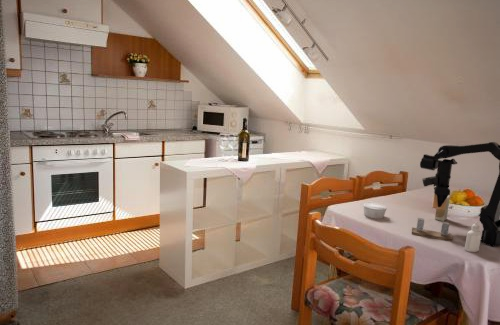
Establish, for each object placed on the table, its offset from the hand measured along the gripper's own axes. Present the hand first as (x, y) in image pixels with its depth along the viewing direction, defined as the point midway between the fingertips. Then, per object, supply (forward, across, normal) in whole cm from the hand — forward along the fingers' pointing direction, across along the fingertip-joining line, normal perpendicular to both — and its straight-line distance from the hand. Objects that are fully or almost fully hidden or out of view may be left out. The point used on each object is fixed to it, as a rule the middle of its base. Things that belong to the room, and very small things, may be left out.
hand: (438, 205), depth 188 cm
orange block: (+1, 0, 0) cm, 1 cm away
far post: (+11, +13, -7) cm, 18 cm away
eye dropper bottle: (+11, +24, +13) cm, 29 cm away
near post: (+11, +13, +3) cm, 17 cm away
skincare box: (+11, -17, +3) cm, 21 cm away
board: (+11, +13, -2) cm, 17 cm away
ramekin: (+11, -3, -28) cm, 30 cm away
